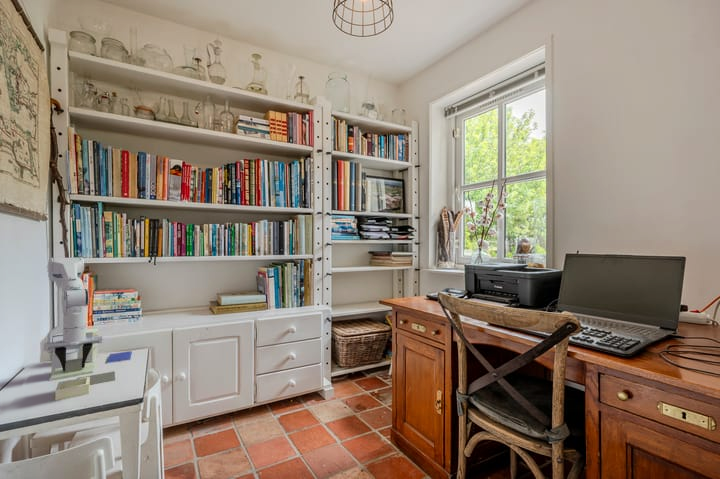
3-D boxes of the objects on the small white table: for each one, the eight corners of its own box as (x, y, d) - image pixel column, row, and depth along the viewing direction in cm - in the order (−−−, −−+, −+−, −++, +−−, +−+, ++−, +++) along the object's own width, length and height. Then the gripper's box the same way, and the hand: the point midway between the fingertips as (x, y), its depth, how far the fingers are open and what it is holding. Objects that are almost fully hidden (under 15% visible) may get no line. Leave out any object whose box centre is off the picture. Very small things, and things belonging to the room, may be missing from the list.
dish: (58, 392, 110) (58, 382, 110) (89, 386, 115) (90, 376, 115) (55, 401, 103) (55, 390, 103) (88, 394, 108) (88, 384, 108)
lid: (55, 370, 110) (55, 359, 110) (94, 364, 116) (94, 353, 116) (50, 380, 102) (51, 368, 102) (92, 372, 108) (93, 361, 108)
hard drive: (109, 354, 147) (106, 362, 137) (131, 350, 151) (130, 358, 141) (109, 357, 147) (106, 366, 137) (131, 354, 151) (130, 362, 141)
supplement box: (70, 364, 137) (70, 333, 137) (77, 359, 143) (77, 329, 144) (92, 362, 140) (93, 331, 140) (98, 356, 146) (98, 327, 147)
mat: (77, 379, 121) (77, 377, 121) (114, 372, 128) (114, 371, 128) (74, 389, 113) (74, 388, 113) (115, 381, 119) (115, 380, 119)
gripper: (42, 332, 102) (41, 377, 102) (102, 325, 111) (101, 367, 110) (46, 328, 108) (45, 370, 107) (102, 322, 116) (102, 361, 116)
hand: (73, 368), depth 109 cm, fingers closed on lid, 4 cm apart
